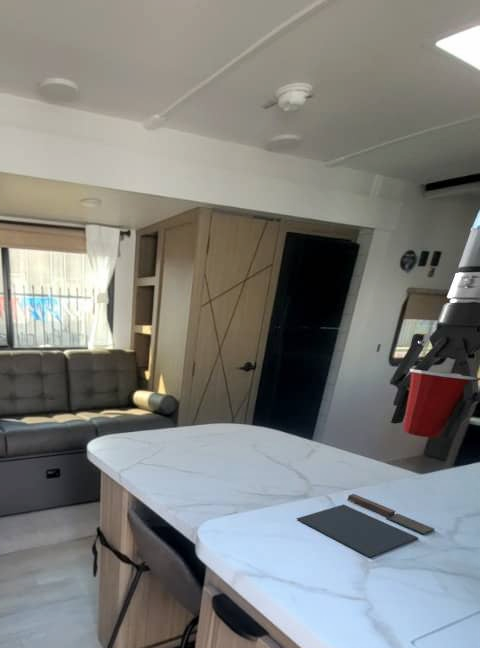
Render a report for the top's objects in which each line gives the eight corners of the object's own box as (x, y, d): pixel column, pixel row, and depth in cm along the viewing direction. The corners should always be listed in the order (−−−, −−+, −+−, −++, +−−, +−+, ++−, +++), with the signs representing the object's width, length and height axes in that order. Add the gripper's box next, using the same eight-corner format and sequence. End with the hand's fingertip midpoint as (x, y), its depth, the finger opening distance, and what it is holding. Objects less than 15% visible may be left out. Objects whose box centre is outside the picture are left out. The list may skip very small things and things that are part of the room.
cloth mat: (343, 505, 88) (343, 504, 88) (417, 538, 76) (418, 537, 76) (296, 519, 82) (296, 518, 82) (369, 558, 70) (370, 556, 70)
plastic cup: (464, 436, 79) (493, 373, 74) (442, 445, 73) (471, 377, 68) (402, 423, 87) (424, 365, 82) (378, 429, 81) (400, 367, 76)
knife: (344, 500, 90) (345, 496, 90) (355, 497, 92) (356, 492, 92) (422, 534, 78) (425, 529, 77) (433, 530, 79) (436, 525, 79)
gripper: (394, 299, 77) (356, 416, 87) (546, 303, 59) (477, 448, 69) (417, 301, 80) (378, 413, 90) (567, 304, 63) (498, 443, 72)
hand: (421, 428), depth 80 cm, fingers closed on plastic cup, 9 cm apart
